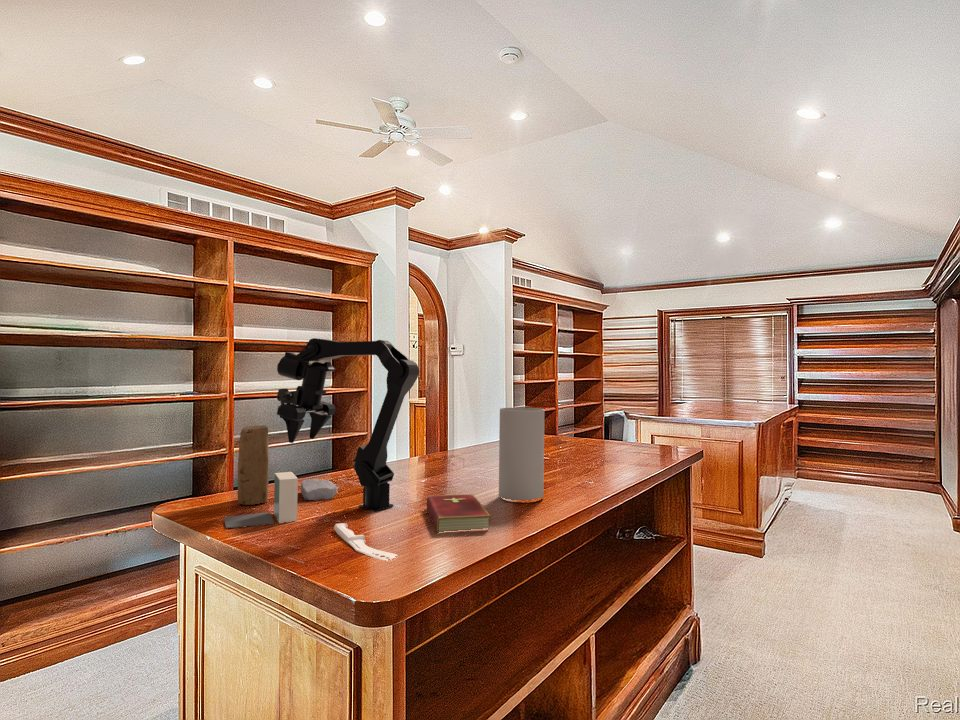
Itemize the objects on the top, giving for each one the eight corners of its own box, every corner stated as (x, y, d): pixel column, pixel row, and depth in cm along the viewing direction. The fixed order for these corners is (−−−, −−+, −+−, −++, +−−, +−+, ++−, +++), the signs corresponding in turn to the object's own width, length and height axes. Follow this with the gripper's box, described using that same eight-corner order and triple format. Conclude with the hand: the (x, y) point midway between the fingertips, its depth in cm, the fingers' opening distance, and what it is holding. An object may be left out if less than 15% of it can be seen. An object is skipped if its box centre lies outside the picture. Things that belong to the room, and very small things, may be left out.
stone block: (331, 496, 160) (297, 492, 156) (335, 480, 161) (301, 475, 157) (339, 507, 150) (302, 503, 145) (343, 490, 150) (306, 485, 146)
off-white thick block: (291, 512, 135) (291, 471, 135) (296, 521, 127) (297, 478, 127) (273, 513, 133) (274, 472, 133) (278, 523, 125) (279, 479, 125)
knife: (423, 565, 99) (382, 572, 95) (423, 574, 99) (382, 581, 95) (366, 519, 124) (332, 523, 120) (366, 526, 124) (332, 530, 120)
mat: (269, 513, 133) (269, 512, 133) (274, 523, 125) (274, 522, 125) (224, 518, 128) (224, 516, 128) (225, 529, 120) (226, 527, 120)
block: (267, 505, 141) (268, 428, 142) (235, 507, 139) (237, 428, 139) (269, 496, 151) (270, 424, 152) (240, 497, 149) (241, 424, 149)
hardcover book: (436, 536, 119) (437, 516, 119) (426, 511, 139) (426, 494, 139) (490, 533, 121) (490, 514, 121) (472, 509, 142) (472, 493, 142)
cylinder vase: (498, 493, 159) (499, 407, 159) (541, 494, 158) (542, 407, 159) (498, 503, 146) (499, 410, 147) (545, 504, 146) (546, 411, 146)
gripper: (308, 377, 158) (297, 429, 159) (265, 377, 140) (253, 436, 141) (341, 386, 155) (330, 439, 155) (301, 388, 137) (289, 448, 138)
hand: (301, 440), depth 147 cm, fingers open, 9 cm apart
